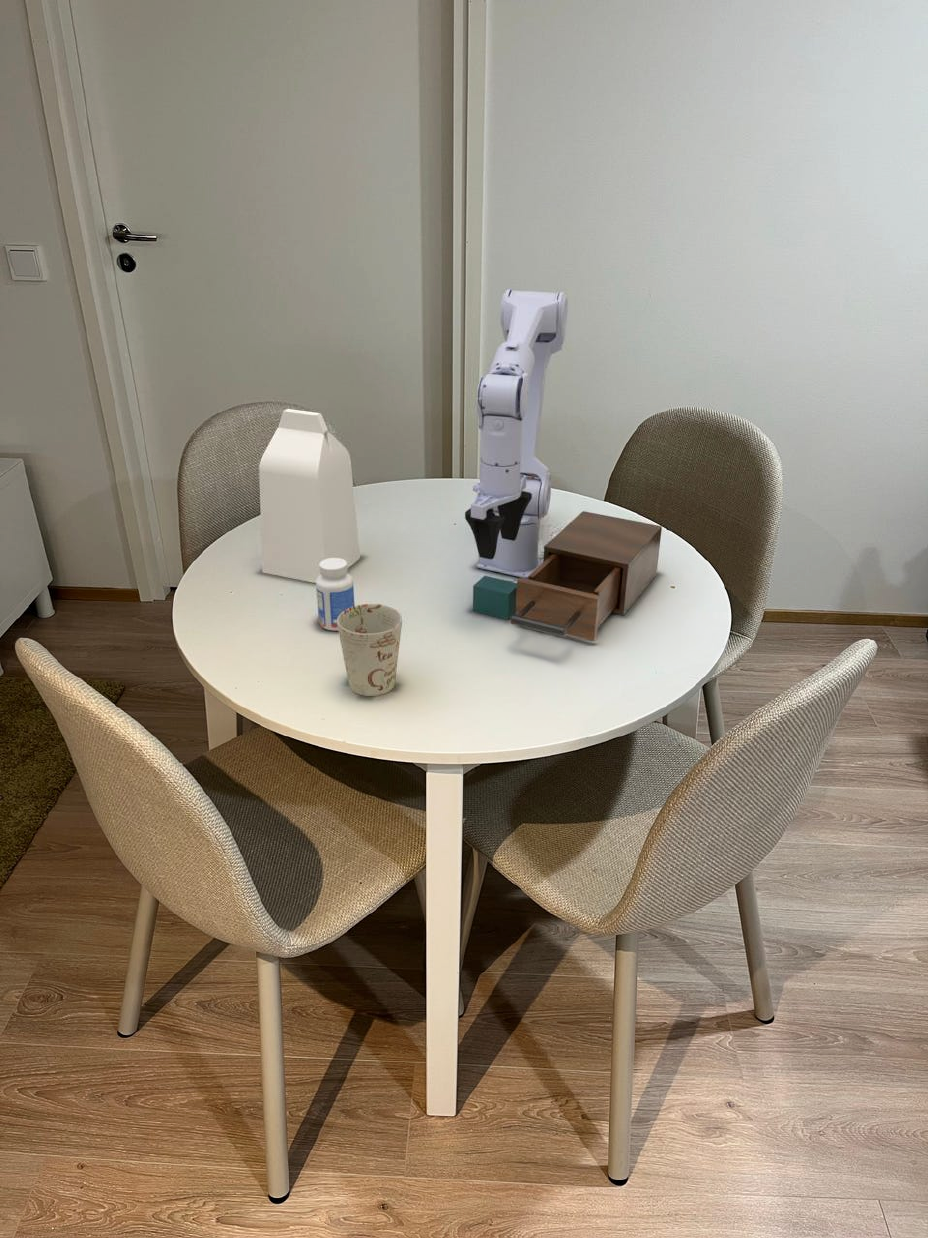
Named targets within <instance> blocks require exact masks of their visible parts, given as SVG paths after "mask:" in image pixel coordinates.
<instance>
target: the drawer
mask: <svg viewBox="0 0 928 1238" xmlns="http://www.w3.org/2000/svg"><path fill="white" fill-rule="evenodd" d="M622 575H623V568H621V567H617V566H612V565H607V564H603V563H598V562H593V561H589V560H584V559H579V558H575V557H570V556H565V555H561V554H556V553H553V554H552V555H551V556H549V557H548V558H547V559H546V560H545V561H544V562H543V563H542V564H541V565H540V566H539V567H538V568H537V569H536V570H534V571H533V572H532V573H531V574H530V575H529V576H528V578H527V579H526V578H521V577H518V579H516V583H517V594H516V613H515V614H514V615H512V617H511V618H510V624H511V625H514V626H518V627H522V628H526V629H530V630H534V631H538V632H542V633H546V634H549V635H553V636H558V637H560V638H561V637H562V638H566V636H571V637H576V638H580V639H584V640H587V641H591V642H595V641H596V640H597V639H598V631H599V627H600V626H601V625H602V624H603V623H604V621H605V620H606V619H608V617H609V615H610V614H612V613H611V612H612V611H613V609H614V608H615V607H616V606H617V605H618V603H619V602H620V595H621V585H622Z"/></svg>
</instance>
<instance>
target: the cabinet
mask: <svg viewBox="0 0 928 1238" xmlns="http://www.w3.org/2000/svg"><path fill="white" fill-rule="evenodd" d="M662 531H663V526H662V525H657V524H653V523H652V524H651V523H647V522H642V521H638V520H632V519H626V518H621V517H616V516H610V515H605V514H601V513H596V512H590V511H585V510H583V511H582V512H580V513H579V514H578V515H577V516H576V517H574V519H573V520H572V521H570V522H569V523H568V524H567V525H565V527H564V528H562V529H561V530H560V531H559V532H558V533H557V534H556V535H555V536H554V537H552V539H551V540H549V541H548V542H547V543H546V544H545V545H544V546H543V557H542V558H543V562H544V561H545V560H546V559H547V558H548V557H549V556H551V555H552V554H553V553H556V554H561V555H565V556H570V557H575V558H579V559H584V560H589V561H593V562H598V563H603V564H607V565H612V566H617V567H621V568H623V575H622V585H621V595H620V602H619V603H618V605H617V606H616V607H615V608H614V609H613V611H612V612H611V613H610V614H617V615H620V616H625V614H626V613H627V612H628V611H629V609H630V608H631V606H632V605H633V604H634V603H635V602H636V601H637V599H638V598H639V596H641V594H642V593H643V592H644V590H645V589H646V588H647V587H648V585H649V584H650V583H651V582H652V580H653V579H654V578H655V576H656V575H657V574H658V564H659V557H660V556H659V555H660V548H661V539H662Z"/></svg>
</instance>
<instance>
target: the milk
mask: <svg viewBox="0 0 928 1238" xmlns="http://www.w3.org/2000/svg"><path fill="white" fill-rule="evenodd" d="M276 428H277V429H276V430H275V432H274V434H273V435H272V438H271V439H270V441H269V443H268V444H267V447H266V448H265V450H264V451H263V454H262V456H261V458H260V461H259V465H258V477H259V507H260V536H261V537H260V538H261V565H262V567H261V569H262V573H263V574H268V575H274V576H278V577H283V578H287V579H288V578H289V579H294V580H298V581H303V582H308V583H314V584H316V580H317V578H318V577H319V576H320V575H321V574H320V571H319V564H320V562H321V561H323V560H325V559H329V558H341V559H344V560H345V561H346V562H347V568H348V569H349V568H350V567H351V566H352V565H354V564H355V563H356V562H357V561H358V560H360V559H361V552H360V551H361V550H360V542H359V541H360V540H359V531H358V522H357V521H358V520H357V511H356V501H355V500H356V499H355V492H354V481H353V472H352V471H353V470H352V462H351V461H352V460H351V455H350V453H349V450H348V449H347V448H346V447H345V445H344V444H342V443H341V442H340V441H339V440H338V439H337V438H336V437H335V436H334V435H333V434H332V433H331V432H330V431H329V429H328V427H327V424H326V422H325V420H324V418H323V414H322V413H321V412H314V411H306V410H299V409H292V408H287V409H285V410H283V411H282V414H281V417H280V421H279V423H278V427H276Z"/></svg>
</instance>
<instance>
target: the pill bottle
mask: <svg viewBox="0 0 928 1238" xmlns="http://www.w3.org/2000/svg"><path fill="white" fill-rule="evenodd" d="M319 571H320V574H321V575H320V576H319V577H318V578H317V580H316V583H315V589H316V601H317V602H316V603H317V614H318V623H319V625H320V626H321V627H322V628H323V629H325V630H328V631H333V632H336V631H337V632H339V631H338V626H337V618H338V616H339V615H340V614H341V613H342V612H343V611H344V610H346V609H348V608H350V607H353V606H356V605H355V588H354V587H355V586H354V579H353V576H352V575H351V574H349V573H348V571H349V568H347V562H346V561H345V560H344V559H341V558H329V559H325V560H323V561H321V562H320V564H319Z"/></svg>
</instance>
